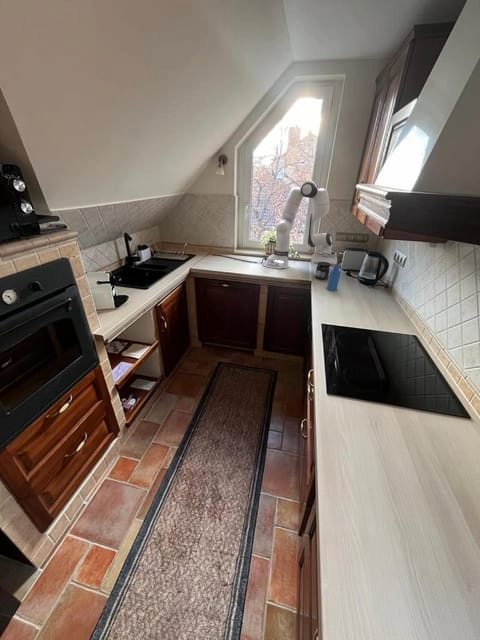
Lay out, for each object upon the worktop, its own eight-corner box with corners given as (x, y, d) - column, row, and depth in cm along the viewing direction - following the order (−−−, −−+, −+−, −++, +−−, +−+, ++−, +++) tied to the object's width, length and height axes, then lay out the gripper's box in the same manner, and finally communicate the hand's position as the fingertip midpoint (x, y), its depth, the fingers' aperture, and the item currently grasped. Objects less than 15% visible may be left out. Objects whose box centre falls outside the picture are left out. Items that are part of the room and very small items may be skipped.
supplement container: (327, 276, 206) (330, 262, 200) (328, 280, 198) (331, 266, 192) (314, 275, 208) (316, 260, 202) (314, 279, 200) (317, 264, 194)
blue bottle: (326, 290, 182) (331, 265, 173) (326, 286, 187) (331, 263, 178) (336, 291, 180) (342, 267, 171) (336, 288, 186) (341, 264, 177)
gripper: (312, 250, 208) (309, 265, 205) (338, 253, 203) (336, 268, 200) (311, 254, 214) (309, 269, 211) (337, 257, 209) (335, 272, 206)
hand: (322, 269), depth 205 cm, fingers closed
